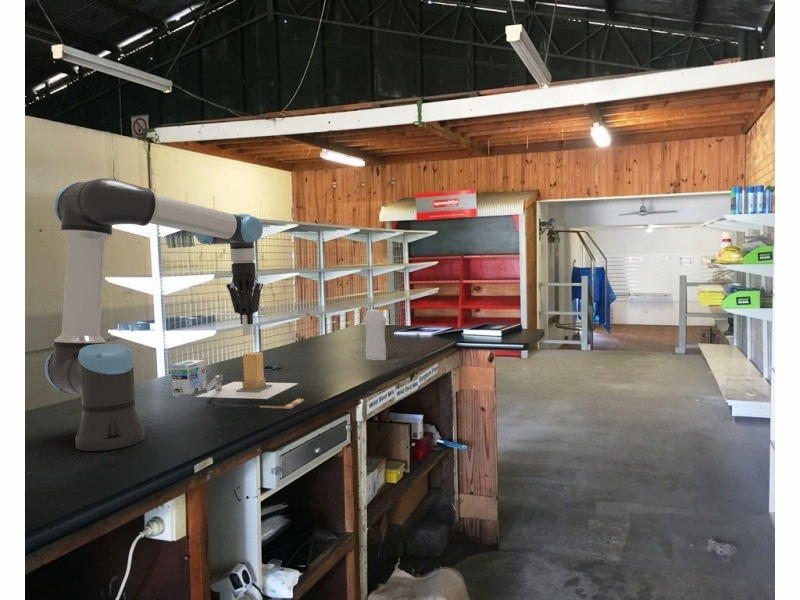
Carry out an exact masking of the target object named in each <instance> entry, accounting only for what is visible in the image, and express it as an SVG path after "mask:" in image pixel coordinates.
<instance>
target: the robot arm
mask: <svg viewBox="0 0 800 600" xmlns="http://www.w3.org/2000/svg"><path fill="white" fill-rule="evenodd" d="M54 213H55V216H56V217H57V219H58V220H59V221H60V223H61V225H60V233H61V234H62V235H63V236H64V237H65V238H66V241H67V242H66V253H65V254H66V255H65V256H66V257H65V273H64V276H65V277H64V289H63V307H62V308H63V309H62V323H61V324H62V326H61V334H60V335H58V336H57V337H56V338H55V339H54V340H53V350H52V352H51V353H50V354H49V355H48V357H47V358H46V361H45V363H44V373H45V374H44V375H45V377H46V379H47V381H48V383H49V384H50V385H51V386H52V387H54V388H55V389H57V390H59V391H61V392H64V393H66V394H71V395H79V396H80V397H81V398H80V399H81V417H80V421H79V423H78V424H79V425H78V429H77V434H76V435H75V448H76V449H77V450H81V451H86V452H101V451H110V450H111V451H112V450H117V449H122V448H125V447H129V446H133V445H136V444H138V443H141V442H142V441H143V440H144V439H145V438H146V436H145V433H146V431H145V427H144V425H143V424H142V421H141V417H140V416H139V414H138V411H137V409H136V391H135V374H134V373H135V372H134V366H135V360H134V355H133V351H132V350H131V349H130V348H129V347H128V346H125V345H122V344H117V343H116V344H115V343H114V344H113V343H106V339H105V338H103V337H102V336H101V334H100V330H101V317H102V316H101V314H102V299H103V298H102V297H103V296H102V295H103V284H104V283H103V282H104V281H103V280H104V263H105V262H104V261H105V247H106V245H105V243H106V242H107V241H108V240H110V239H111V238H112V236H113V226H115V225H135V226H136V225H137V226H141V227H144V226H145V227H146V226H148V225H149V224H151V225H155V226H161V227H167V228H170V229H176V230H181V231H186V232H191V233H195V234H194V235H195V237H196V240H197V242H198V243H200V244H201V245H209V246H210V245H229V248H230V261H231V262H233V263H231V265H230V266H231V274H232V281H231V282H229V283H228V284H226V285H225V286H226V289H227V290H228V293H229V296H230V301H231V304H232V306H233V311H234V313H235V314H239V316H240V324H241V325H242V335H243V336H249V335H252V333H253V328H252V325H253V324H254V317H253V316H254V314H255V313H258V311H259V307H260V306H259V305H260V299H261V292H262V288H263V287H264V283H262V282H259V281H258V280H257V277H256V272H257V270H256V263H255V262H254V261H255V260H256V257H255V256H256V255H255V242H257V241H259V239H261V237H262V235H263V230H264V227H263V224H262V222H261V220H260V219H259V218H258V217H256V216H253V215H251V214H249V213H235V214H233V213H229V212H225V211H221V210H218V209H213V208H210V207H206V206H202V205H197V204H194V203H190V202H186V201H182V200H177V199H173V198H170V197H167V196H162V195H158V194H156V193H155V192H154V191H153V190H152V189H151V188H147V187H143V186H140V185H137V184H132V183H129V182H126V181H122V180H118V179H112V178H107V177H106V178H105V177H102V178H95V179H91V180H86V181H77V182H74V183H71V184H69V185H67V186H66V187H64V188H63V189H61V190H60V192H59V193H58V194H57V196H56V197H55V201H54Z"/></svg>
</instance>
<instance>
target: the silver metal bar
mask: <svg viewBox="0 0 800 600" xmlns="http://www.w3.org/2000/svg"><path fill="white" fill-rule="evenodd" d="M223 378H224V376H223V374H216V375H213V379H212V380H210V382H209V383H206V386H205V387H204V388H203V390H202V394H203V393H207V392H208V391H211V390H212V388H213V387H215V384H216V383H217V382H218V381H221V382H222V381H224V379H223Z"/></svg>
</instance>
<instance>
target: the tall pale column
mask: <svg viewBox="0 0 800 600" xmlns="http://www.w3.org/2000/svg"><path fill="white" fill-rule="evenodd" d="M363 324H364V327H365V328H364V329H365V339H366V340H365V360H366V359H367V361H387V345H386V344H387V343H386V336H385V335H386V326H387V318H386V317H385V316H384V311H383V310H380V309H376V308H375V309H369V310H366V313H365V316H364V317H363Z"/></svg>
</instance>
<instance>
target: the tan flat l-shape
mask: <svg viewBox="0 0 800 600" xmlns="http://www.w3.org/2000/svg"><path fill="white" fill-rule="evenodd" d="M303 402H305V399H304V398H295V399H292V401H289V402H288V403H286V404H263V403H262V404H260V405H259V409H260V408H261V409H262V408H265V409H266V408H267V409H293V408H294V407H296V406H298V405H300V404H302V403H303Z"/></svg>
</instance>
